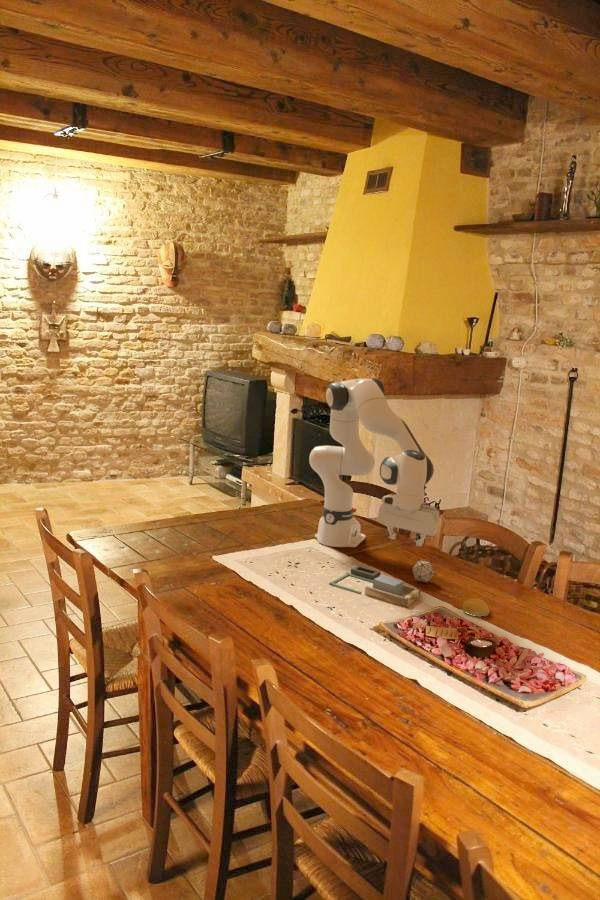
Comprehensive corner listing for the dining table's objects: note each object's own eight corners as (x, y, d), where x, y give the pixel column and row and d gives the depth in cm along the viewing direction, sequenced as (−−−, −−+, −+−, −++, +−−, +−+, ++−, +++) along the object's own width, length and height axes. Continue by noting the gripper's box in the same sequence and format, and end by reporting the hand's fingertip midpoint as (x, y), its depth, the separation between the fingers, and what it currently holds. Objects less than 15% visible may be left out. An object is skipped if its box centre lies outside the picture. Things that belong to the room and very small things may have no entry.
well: (357, 570, 266) (358, 565, 266) (380, 576, 261) (380, 571, 261) (350, 574, 262) (351, 569, 261) (373, 580, 257) (373, 575, 256)
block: (381, 588, 251) (382, 574, 250) (402, 595, 246) (403, 581, 245) (372, 593, 246) (373, 579, 245) (393, 600, 242) (394, 586, 241)
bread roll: (463, 616, 233) (464, 604, 232) (462, 605, 242) (463, 594, 241) (490, 620, 232) (491, 608, 231) (487, 608, 240) (489, 597, 239)
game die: (425, 591, 261) (444, 570, 260) (420, 590, 253) (439, 569, 252) (407, 573, 265) (426, 553, 264) (401, 572, 257) (420, 551, 256)
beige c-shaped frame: (380, 584, 254) (380, 577, 253) (420, 596, 246) (421, 589, 246) (364, 594, 244) (365, 587, 244) (405, 606, 237) (406, 599, 236)
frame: (347, 574, 262) (347, 573, 262) (377, 582, 255) (377, 581, 255) (328, 584, 251) (328, 583, 251) (359, 593, 245) (359, 592, 244)
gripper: (443, 506, 233) (439, 547, 236) (386, 493, 244) (382, 533, 247) (435, 509, 228) (431, 552, 230) (377, 496, 239) (373, 537, 241)
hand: (405, 542), depth 239 cm, fingers open, 8 cm apart
